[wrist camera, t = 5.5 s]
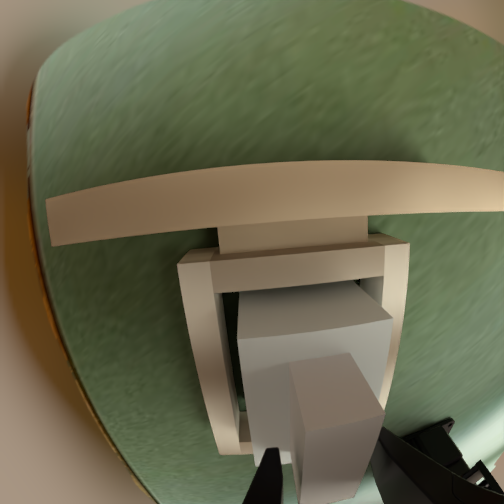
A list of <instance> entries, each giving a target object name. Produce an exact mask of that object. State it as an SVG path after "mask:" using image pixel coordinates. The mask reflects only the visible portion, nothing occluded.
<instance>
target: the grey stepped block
mask: <svg viewBox="0 0 504 504" xmlns="http://www.w3.org/2000/svg"><path fill="white" fill-rule="evenodd" d="M393 319H394V318H393V317H392V316H391V315H390V314H389V313H388V312H387V311H385V310H384V309H383V308H382V307H381V306H380V305H379V304H378V303H377V302H376V301H375V300H374V299H372V298H371V297H370V296H369V295H368V294H367V293H366V292H365V291H364V290H363V289H362V288H360V287H359V286H358V285H357V284H356V283H355V282H354V281H353V280H346V281H337V282H329V283H320V284H311V285H301V286H292V287H282V288H271V289H260V290H249V291H239V310H238V330H237V343H238V350H239V358H240V365H241V373H242V380H243V387H244V394H245V401H246V408H247V415H248V422H249V428H250V435H251V441H252V447H253V454H254V460H255V466H259V464H260V462H261V459H262V457H263V454H264V452H265V450H266V448H271V447H278V448H279V451H280V458H281V464H288V463H292V468H293V474H294V480H295V486H296V493H297V499H298V504H328V503H333V502H337V501H341V500H346V499H350V498H353V497H354V496H355V494H356V492H357V490H358V487H359V485H360V483H361V481H362V478H363V476H364V474H365V471H366V469H367V466H368V464H369V461H370V459H371V456H372V453H373V451H374V448H375V445H376V442H377V439H378V436H379V433H380V430H381V427H382V424H383V421H384V418H385V412H384V410H383V408H382V407H381V405H380V403H379V397H380V393H381V388H382V384H383V379H384V374H385V369H386V364H387V358H388V353H389V347H390V340H391V334H392V326H393Z"/></svg>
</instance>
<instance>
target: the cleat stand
mask: <svg viewBox="0 0 504 504" xmlns="http://www.w3.org/2000/svg"><path fill="white" fill-rule="evenodd" d="M45 201H46V210H47V219H48V226H49V233H50V239H51V245H52V247H53V246H60V245H67V244H74V243H81V242H89V241H96V240H104V239H112V238H120V237H128V236H136V235H145V234H154V233H163V232H172V231H181V230H191V229H200V228H211V227H217V229H218V238H219V247H212V248H201V249H191V250H189V251H188V252H187V253H186V254H185V256H184V257H183V258H182V259H181V260H180V261H179V262H178V263H177V269H178V275H179V281H180V287H181V293H182V299H183V305H184V310H185V315H186V321H187V326H188V331H189V336H190V341H191V345H192V350H193V355H194V359H195V364H196V368H197V372H198V377H199V381H200V385H201V389H202V393H203V397H204V401H205V405H206V409H207V412H208V416H209V420H210V423H211V427H212V430H213V434H214V437H215V441H216V444H217V447H218V451H219V454H220V455H239V454H253V447H252V441H251V435H250V428H249V422H248V415H247V411H243V412H239V406H238V400H237V394H236V387H235V381H234V375H233V368H232V362H231V355H230V348H229V341H228V334H227V327H226V320H225V313H224V305H223V297H222V293H224V292H237V291H249V290H260V289H271V288H282V287H292V286H301V285H311V284H320V283H329V282H337V281H346V280H354V279H360V288H362V289H363V290H364V291H365V292H366V293H367V294H368V295H369V296H370V297H371V298H372V299H374V300H375V301H376V302H377V303H378V304H379V305H380V306H381V307H382V308H383V309H384V310H385V311H387V312H388V313H389V314H390V315H391V316H392V317H393V318H394V319H393V326H392V334H391V340H390V347H389V353H388V358H387V364H386V369H385V374H384V379H383V384H382V388H381V393H380V397H379V403H380V405H381V407H382V408H383V410H384V409H385V406H386V402H387V398H388V395H389V391H390V387H391V382H392V378H393V374H394V369H395V364H396V359H397V354H398V349H399V343H400V338H401V331H402V325H403V318H404V310H405V302H406V293H407V282H408V269H409V250H410V243H408V242H405V241H402V240H400V239H397V238H394V237H392V236H389V235H386V234H384V233H379V234H368V215H387V214H409V213H435V212H474V211H504V172H500V171H494V170H487V169H480V168H472V167H464V166H455V165H444V164H433V163H419V162H401V161H372V160H325V161H295V162H276V163H261V164H248V165H237V166H226V167H217V168H208V169H200V170H192V171H184V172H177V173H170V174H164V175H157V176H151V177H145V178H139V179H134V180H128V181H123V182H118V183H113V184H108V185H103V186H98V187H94V188H89V189H85V190H80V191H76V192H72V193H68V194H64V195H60V196H56V197H52V198H48V199H45Z"/></svg>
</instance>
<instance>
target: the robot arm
mask: <svg viewBox="0 0 504 504" xmlns="http://www.w3.org/2000/svg"><path fill="white" fill-rule="evenodd" d="M454 422H455V421H454V420H453V418H450V419H448V420H446V421H444V422H441V423H439V424H437V425H435V426H432V427H430V428H428V429H425V430H423V431H420V432H418V433H415V434H412V435H410V436H407V437H404V438H401V439H400V438H399V437H397V436H396V435H395V434H393V433H392V432H390V431H389V430H387V429H386V428H384V427H381V430H380V433H379V436H378V439H377V442H376V445H375V448H374V451H373V453H372V456H371V459H370V462H371V466H372V470H373V474H374V478H375V482H376V485H377V487H378V490H379V492H380V495H381V498H382V500H383V503H384V504H504V492H503V491H502V489H501V488H500V486H499V485H498V483H497V482H496V480H495V479H494V477H493V476H492V475H491V473H490V472H489V470H488V469H487V468H486V466H485V465H484V464H483V462H482V461H481V460H479V461H478V462H477V463H476V464H475V466H474V467H472V468H471V469H470V468H469V467H468V465H467V464H466V462H465V461H464V459H463V458H462V456H463V455H462V453H461V452H460V450H459V449H458V447H457V446H456V444H455V443H454V442H453V440H452V439H451V437H450V436H449V435H448V434H449V432H450V430H451V428H452V426H453V424H454ZM482 477H483V478H484V480H483V481H482V482H481V483H480V484H478V485H477V484H476V482H477V481H478V480H480V479H481V478H482ZM242 504H283V473H282V465H281V458H280V451H279V448H278V447H271V448H266V450H265V452H264V454H263V457H262V459H261V462H260V464H259V467H258V469H257V471H256V474H255V476H254V478H253V481H252V483H251V485H250V488H249V490H248V492H247V494H246V496H245V499H244V501H243V503H242Z"/></svg>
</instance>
